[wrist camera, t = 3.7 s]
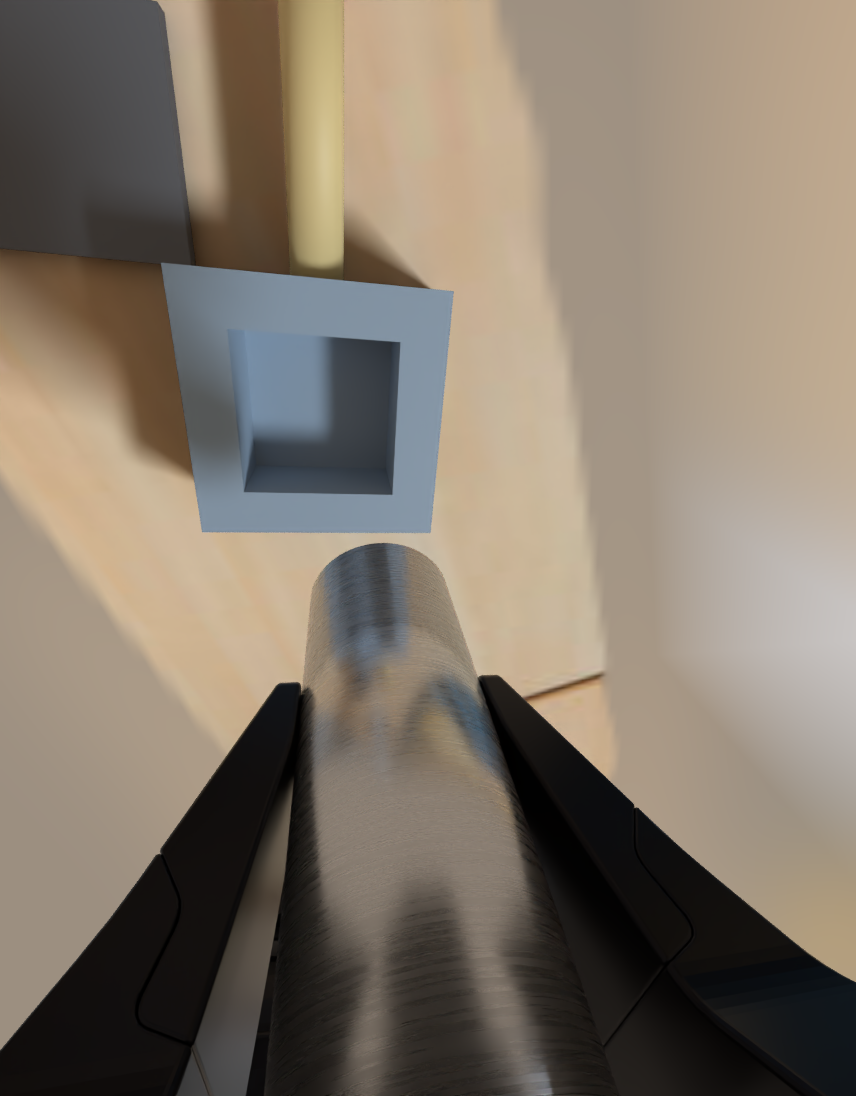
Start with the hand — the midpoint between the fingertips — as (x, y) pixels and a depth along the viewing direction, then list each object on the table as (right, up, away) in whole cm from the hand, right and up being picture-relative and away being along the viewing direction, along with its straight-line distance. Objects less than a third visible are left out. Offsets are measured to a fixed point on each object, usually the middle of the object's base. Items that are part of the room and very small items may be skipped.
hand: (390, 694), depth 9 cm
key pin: (0, +2, +3) cm, 3 cm away
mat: (-10, +15, +5) cm, 18 cm away
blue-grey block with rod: (-3, +12, +7) cm, 14 cm away
